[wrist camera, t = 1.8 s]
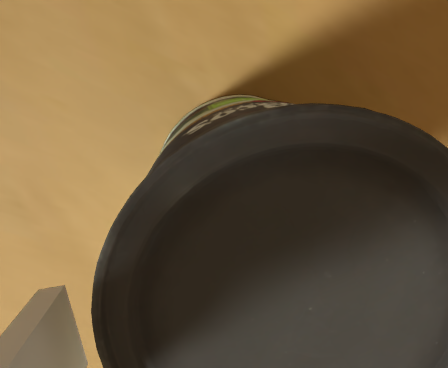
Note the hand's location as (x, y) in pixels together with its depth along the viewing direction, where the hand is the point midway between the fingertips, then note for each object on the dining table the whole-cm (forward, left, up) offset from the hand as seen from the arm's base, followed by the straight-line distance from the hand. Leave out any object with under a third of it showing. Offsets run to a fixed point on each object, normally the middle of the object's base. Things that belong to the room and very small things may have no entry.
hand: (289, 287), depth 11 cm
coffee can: (0, 0, -12) cm, 12 cm away
